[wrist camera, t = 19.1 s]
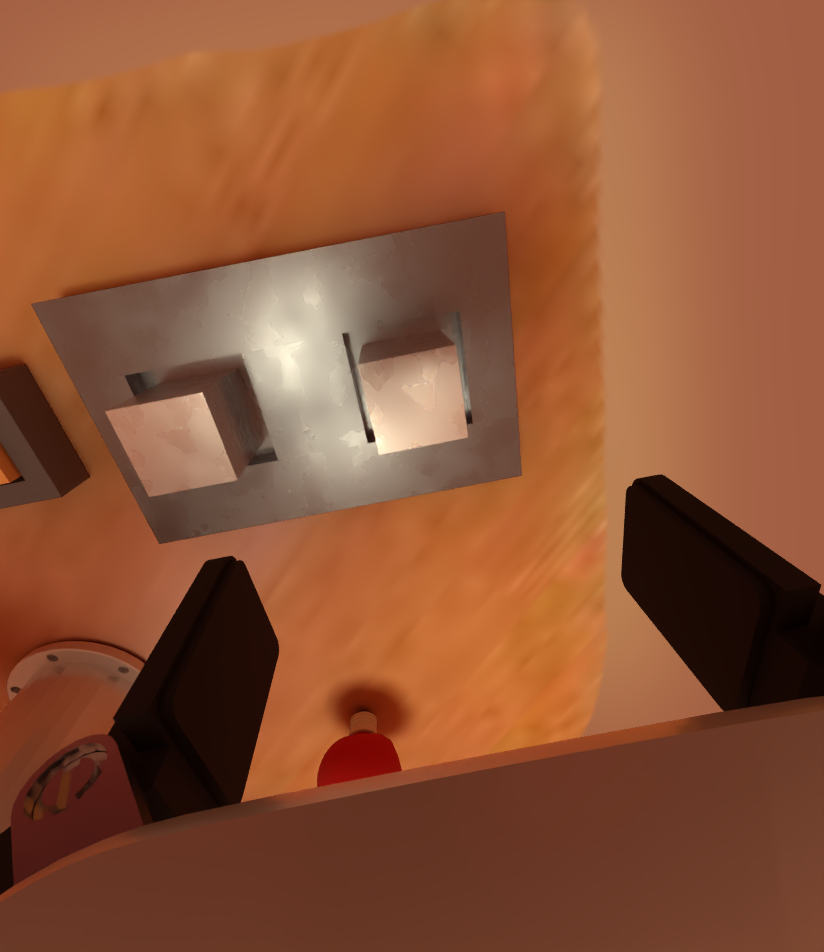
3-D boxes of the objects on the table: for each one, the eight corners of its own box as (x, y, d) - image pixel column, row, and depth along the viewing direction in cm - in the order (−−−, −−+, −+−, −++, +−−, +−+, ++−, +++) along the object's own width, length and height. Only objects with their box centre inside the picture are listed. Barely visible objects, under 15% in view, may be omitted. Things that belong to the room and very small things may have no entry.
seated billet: (263, 441, 29) (237, 480, 23) (191, 454, 29) (149, 496, 23) (237, 367, 27) (202, 392, 21) (160, 382, 27) (105, 411, 21)
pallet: (511, 461, 32) (521, 475, 30) (174, 524, 32) (159, 544, 30) (493, 217, 25) (504, 211, 23) (62, 300, 25) (31, 303, 23)
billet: (451, 406, 29) (468, 437, 23) (378, 420, 29) (378, 454, 23) (440, 330, 26) (456, 345, 21) (361, 345, 26) (357, 364, 21)
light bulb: (309, 698, 42) (290, 816, 33) (372, 672, 41) (370, 786, 32) (355, 748, 45) (350, 865, 36) (414, 725, 45) (423, 840, 36)
